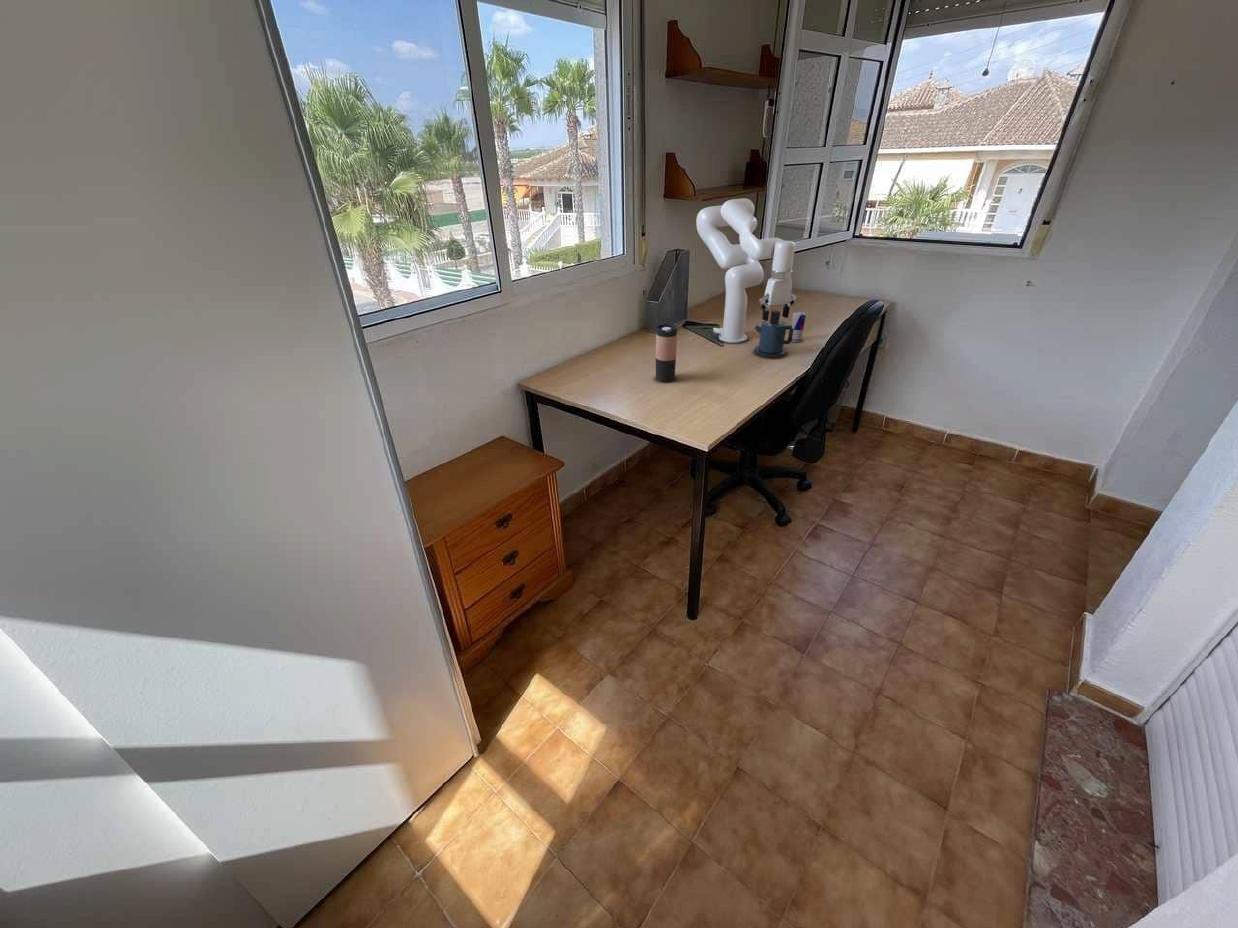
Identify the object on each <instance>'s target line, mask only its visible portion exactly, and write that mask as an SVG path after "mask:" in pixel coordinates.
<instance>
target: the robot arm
mask: <svg viewBox="0 0 1238 928" xmlns="http://www.w3.org/2000/svg"><path fill="white" fill-rule="evenodd" d="M754 213H755V204H754V203H753V201H752V200H751V199H749V198H746V197H744V198H732V199H729V200H726V201H725V202H724V203H723V204H722V205H712V206H707V207H704V208H702V209H701V210H700V211H699V212H697V215H696V220H695V221H696V222H695V223H696V224H695V225H696V230H697V233H698V235H699V237H700V239H701V240H702V241H703V243H704V244H705V246H707V248H708V249H709V252H710V253H711V255H712V257H713V258H714V260H715V261H716V263H717V265H718V267H720V268H721V269H722V270H727V271H726V272H725V275H724V286H725V301H724V312H723V324H722V327H720V328H719V327H713V329H712V332H713V333H714V334H719V335H718V340H720V341H722V342H724V343H728V344H740V343H743V342H746V341H747V340H748V336H747V335H746V334H745V326H746V319H747V318H746V317H747V308H748V301H749V299H748V295H747V292H746V289H748V288H752V287H757V286H759V285H760V284H761V283H762V282H763V281H764V278H765V273H764V268H763V267H762V264H761V263H760V261H764V260H770V259H772V264H771V273H770V278H768V280H767V283H766V286H765V291H764V294H763V295H764V296H762V297H761V298H759V299H758V304H759V307H760V308H761V310H762V314H761V315H762V316H761V319H762V321H768V320H769V317H770V316H769V315H770V311H769V310H770V308H771V307H775V306H782V305H784V306H783V308H782V313H781V316H782V317H783V318H785V319H789V314H790V310H791V308H792V307H793V305H794V303H795V301H796V300H797V298H798V295H797V294H794V293H793V280H792V275H793V274H794V270H793V265H794V258H795V251H796V242H794V241H792V240H784V239H782V238H780V237H767V238H761V239H759V238H758V237H756V236H755V235H754V234H753V233H754V232H755V230H756V228H757V225H758V220H757V218H756V217H755V216H754ZM728 226H729V227H730V228H732V229H733V230H734V231H735V232H736V233H737V234H738V235H739V236H738V240H739V243H737V244H732V243H731V242H730V241H729V239H728V238H727V236H726V235H725V234H724V232H722V231H721V230H720V229H718V228H722V227H728Z"/></svg>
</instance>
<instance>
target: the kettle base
mask: <svg viewBox="0 0 1238 928" xmlns="http://www.w3.org/2000/svg"><path fill="white" fill-rule="evenodd" d="M758 348H759V345H756V346H755V347H754V351H753V352H754V355H755V356H757V357H759V358H764V359H773V360H774V359H775V360H776V359H781V358H784V357H785V356H786V355H787V349H786V348H785V347H783V351H781V352H779V353H766V352H763V351H760V350H759V349H758Z"/></svg>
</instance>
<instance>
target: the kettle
mask: <svg viewBox="0 0 1238 928" xmlns="http://www.w3.org/2000/svg"><path fill="white" fill-rule="evenodd" d="M769 317H770V318H769V319H768V321H765V320H762V321H761V324H760V325H759V324H756V326H754V330H755V331H756V332H757V333H758V334H759V341H758V346H759V348H758V349H759V350H760V351H763V352H766V353H779V352H781V351H783V348H784V345H790V344H791V343H792V337H793V331H794V329H793V328H792V325H790V324H787V322H786V321H783V320H780V318H781V310H778V309H773V310H771V311H770V316H769ZM787 330H789V331H788V337H787V339H785V338H786V334H787V333H786V332H787Z"/></svg>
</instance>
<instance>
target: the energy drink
mask: <svg viewBox="0 0 1238 928" xmlns="http://www.w3.org/2000/svg"><path fill="white" fill-rule="evenodd" d="M806 317H807V316H806V312H804V311H795V312H793V314H792V319H791V323H790V324H791V325H792V328H793V329H794V331H793V337H792V342H793V343H800V342H801V341H802V339H803V334H804V329H805V323H806ZM792 342H791V343H792Z"/></svg>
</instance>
